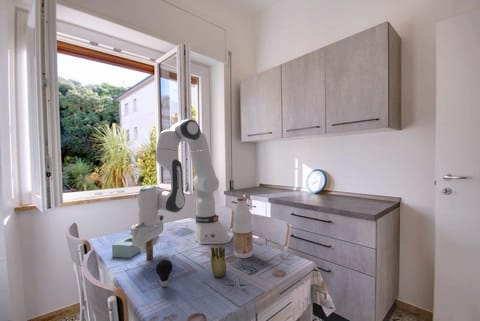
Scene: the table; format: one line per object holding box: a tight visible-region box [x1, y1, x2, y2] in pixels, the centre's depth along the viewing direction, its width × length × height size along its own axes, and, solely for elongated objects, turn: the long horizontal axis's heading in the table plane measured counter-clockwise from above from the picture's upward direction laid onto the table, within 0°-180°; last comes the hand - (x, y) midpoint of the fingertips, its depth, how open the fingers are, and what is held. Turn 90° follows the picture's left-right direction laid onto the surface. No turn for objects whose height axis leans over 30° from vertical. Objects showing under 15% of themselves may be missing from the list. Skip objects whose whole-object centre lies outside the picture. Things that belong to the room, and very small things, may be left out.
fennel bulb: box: [210, 245, 227, 278], centre depth 91 cm, size 6×5×12 cm
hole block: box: [111, 234, 146, 259], centre depth 117 cm, size 10×14×6 cm
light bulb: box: [155, 258, 173, 288], centre depth 84 cm, size 6×6×10 cm
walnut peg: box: [145, 238, 154, 261], centre depth 108 cm, size 3×3×10 cm
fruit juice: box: [232, 196, 254, 259], centre depth 110 cm, size 9×9×28 cm
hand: (149, 248), depth 108 cm, fingers open, 8 cm apart
